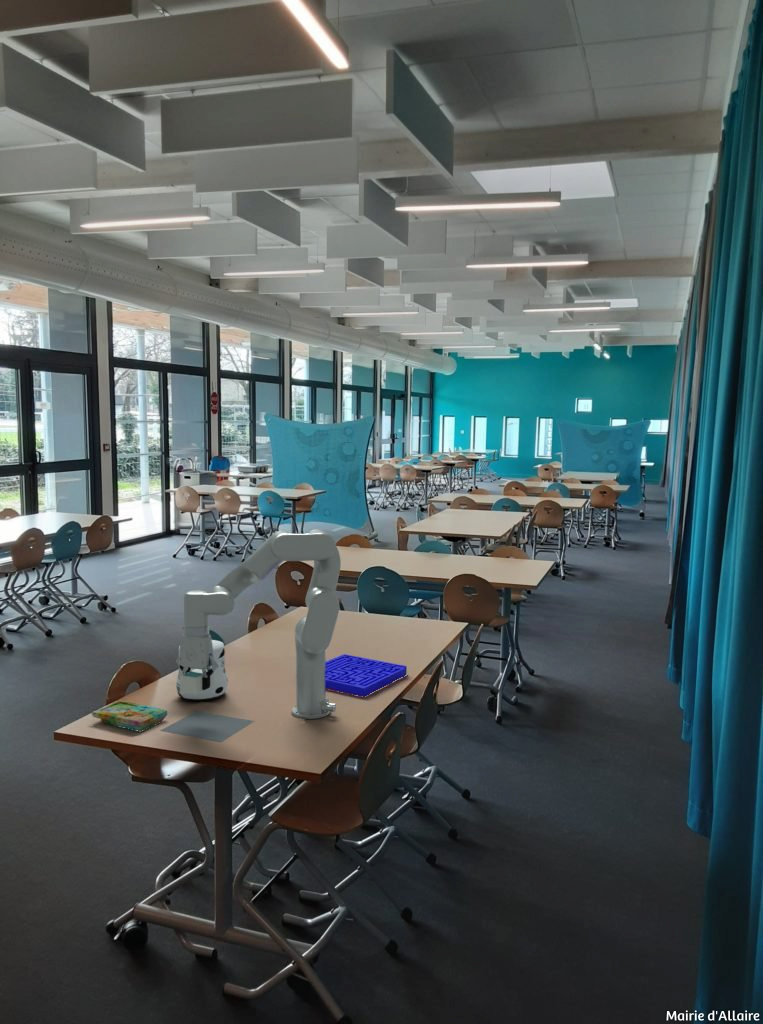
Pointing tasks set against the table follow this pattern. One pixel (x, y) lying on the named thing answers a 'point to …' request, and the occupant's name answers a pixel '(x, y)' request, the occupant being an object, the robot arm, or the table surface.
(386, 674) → the maze
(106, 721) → the puzzle game
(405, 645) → the table surface
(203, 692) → the milk container
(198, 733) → the mat
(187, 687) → the card box
